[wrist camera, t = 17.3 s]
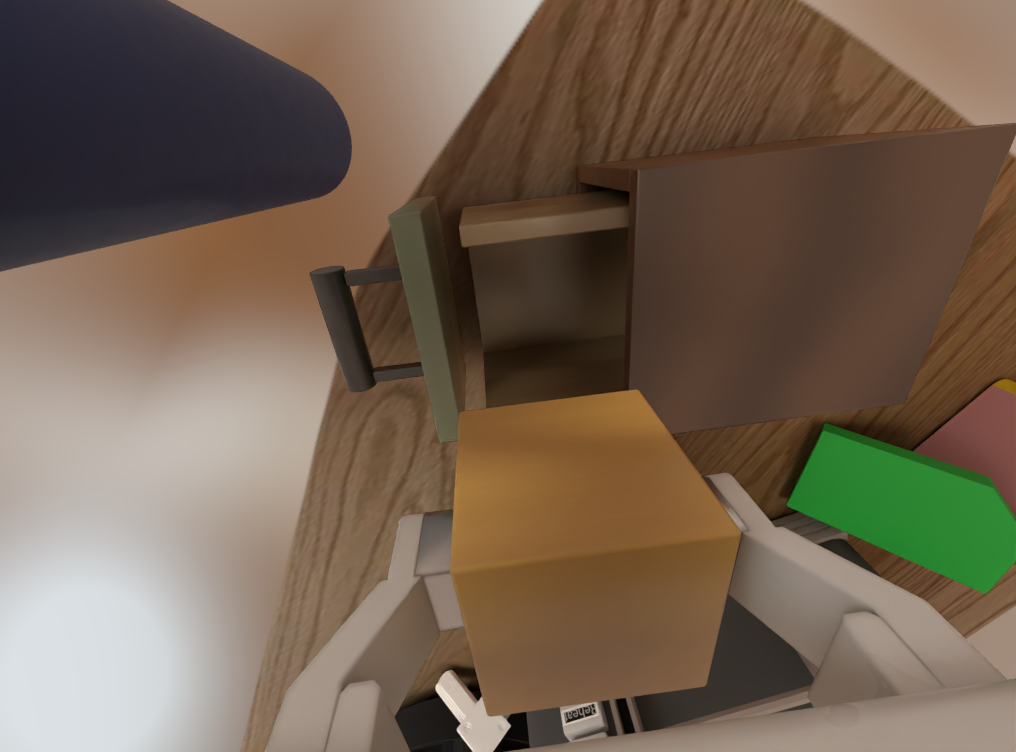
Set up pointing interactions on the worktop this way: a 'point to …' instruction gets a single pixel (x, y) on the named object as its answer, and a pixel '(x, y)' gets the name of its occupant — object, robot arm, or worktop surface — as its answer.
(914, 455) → the bracket
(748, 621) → the toaster
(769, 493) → the worktop surface
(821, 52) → the worktop surface
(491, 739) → the corner connector
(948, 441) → the alarm clock
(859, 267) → the cabinet
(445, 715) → the container
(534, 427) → the block
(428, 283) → the drawer
